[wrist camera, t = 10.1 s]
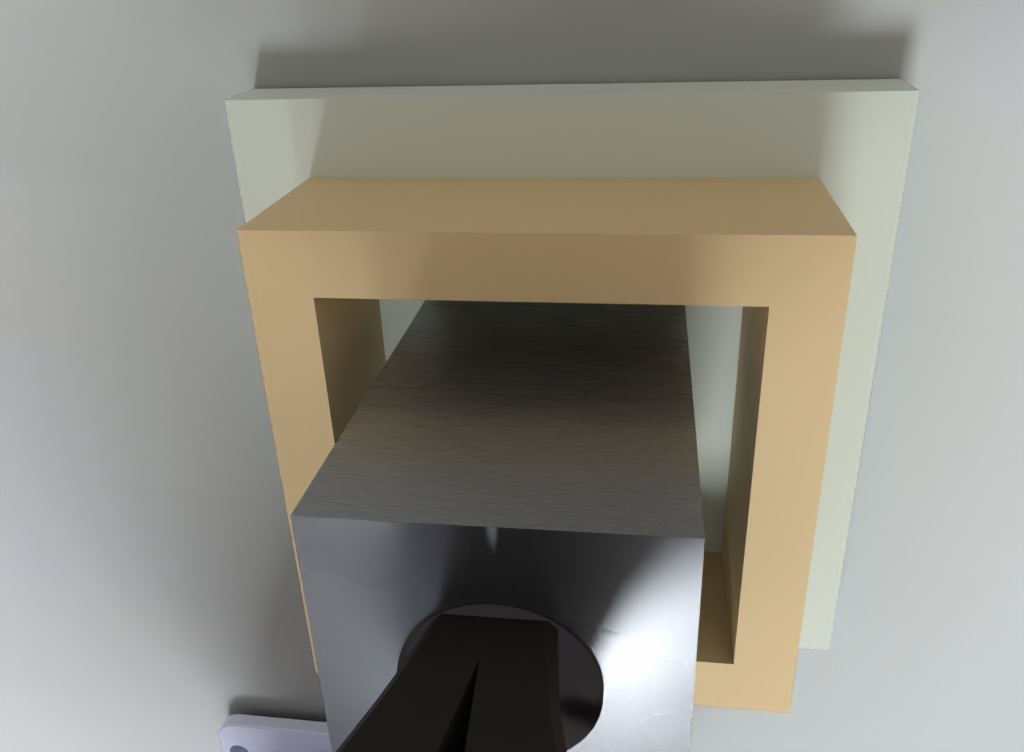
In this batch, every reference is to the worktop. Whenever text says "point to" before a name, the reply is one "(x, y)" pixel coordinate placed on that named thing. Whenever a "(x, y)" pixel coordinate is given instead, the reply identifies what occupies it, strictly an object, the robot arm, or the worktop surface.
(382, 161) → the frame
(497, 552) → the speaker box
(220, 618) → the worktop surface
